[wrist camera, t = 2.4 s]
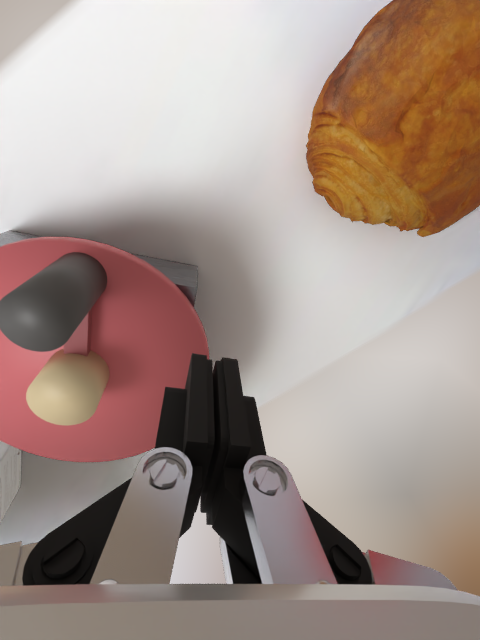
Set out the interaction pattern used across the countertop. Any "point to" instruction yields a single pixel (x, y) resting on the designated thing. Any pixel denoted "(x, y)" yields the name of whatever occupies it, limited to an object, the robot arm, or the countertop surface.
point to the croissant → (403, 119)
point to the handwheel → (88, 348)
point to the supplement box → (9, 475)
